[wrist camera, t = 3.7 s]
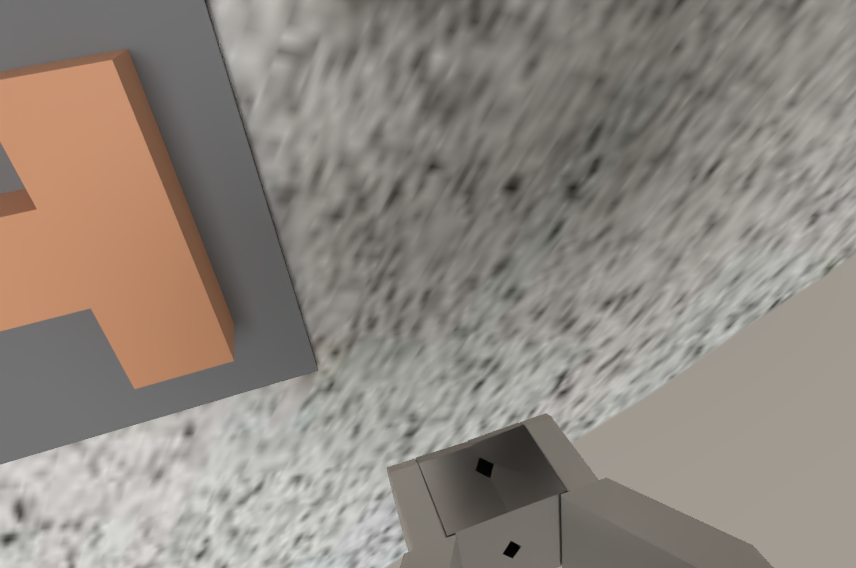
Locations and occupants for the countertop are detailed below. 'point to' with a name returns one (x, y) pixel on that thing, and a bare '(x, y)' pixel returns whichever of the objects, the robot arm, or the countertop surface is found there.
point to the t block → (104, 220)
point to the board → (210, 207)
